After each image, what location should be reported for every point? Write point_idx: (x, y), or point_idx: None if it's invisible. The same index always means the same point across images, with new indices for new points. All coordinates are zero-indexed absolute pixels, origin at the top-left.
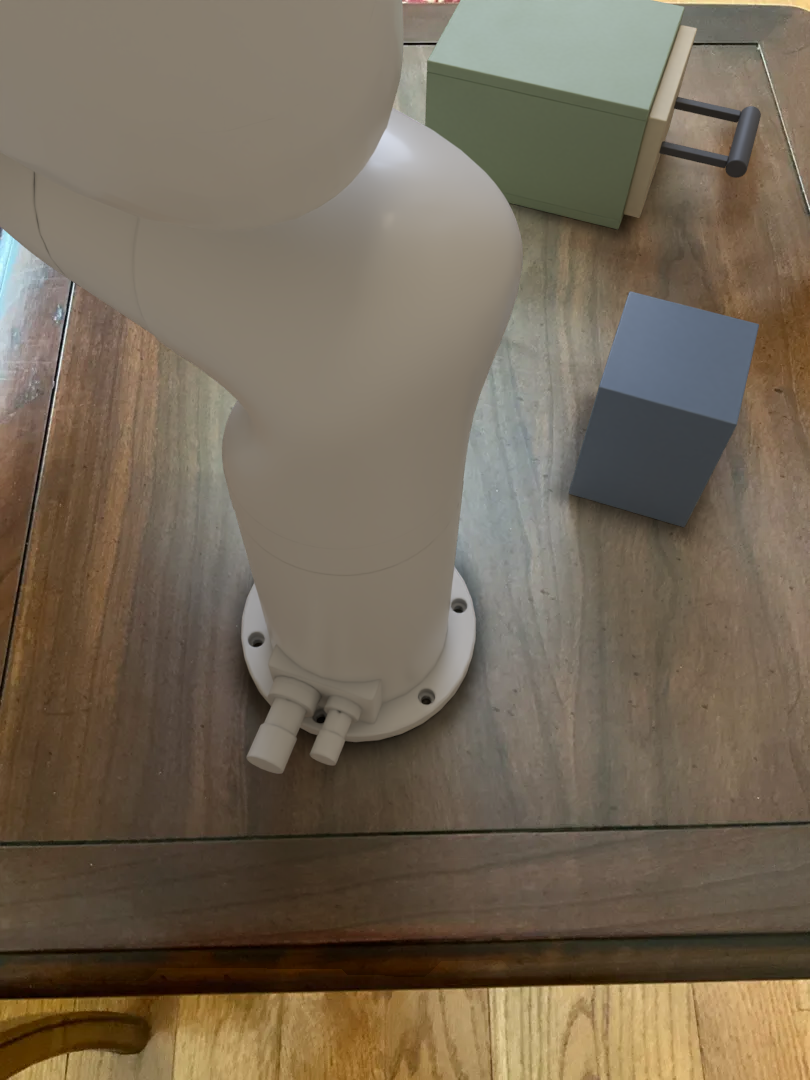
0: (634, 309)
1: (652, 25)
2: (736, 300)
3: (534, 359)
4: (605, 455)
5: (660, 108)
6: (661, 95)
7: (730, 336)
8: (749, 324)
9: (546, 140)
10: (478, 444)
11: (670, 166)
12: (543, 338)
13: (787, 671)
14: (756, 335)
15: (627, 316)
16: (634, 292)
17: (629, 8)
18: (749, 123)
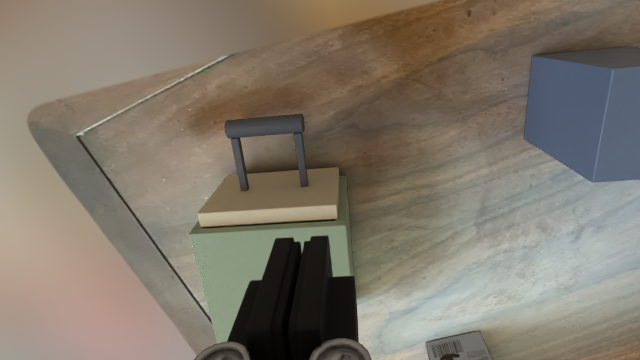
0: (615, 173)
1: (231, 251)
2: (383, 71)
3: (492, 188)
4: None
5: (321, 213)
6: (304, 217)
7: (635, 89)
8: (615, 77)
9: (351, 265)
10: (576, 197)
11: (260, 159)
12: (470, 189)
13: None
14: (629, 67)
15: (624, 176)
16: (594, 178)
17: (217, 273)
18: (250, 129)
